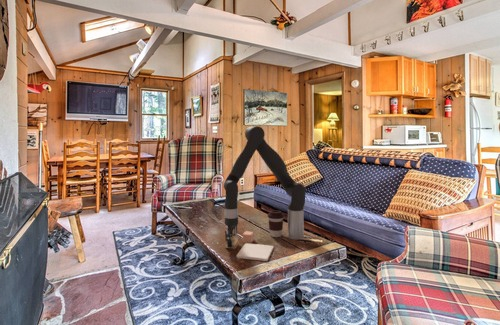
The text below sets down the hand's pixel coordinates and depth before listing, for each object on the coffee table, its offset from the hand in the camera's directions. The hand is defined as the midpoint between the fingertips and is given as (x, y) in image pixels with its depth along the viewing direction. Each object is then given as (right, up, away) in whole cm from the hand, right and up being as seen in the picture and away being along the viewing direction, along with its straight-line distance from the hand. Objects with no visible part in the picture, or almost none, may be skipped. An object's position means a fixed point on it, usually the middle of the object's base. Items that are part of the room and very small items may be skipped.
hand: (231, 244), depth 152 cm
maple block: (0, -1, 0) cm, 1 cm away
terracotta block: (+9, 0, +7) cm, 11 cm away
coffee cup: (+26, +1, +16) cm, 30 cm away
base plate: (+13, -2, -9) cm, 16 cm away
